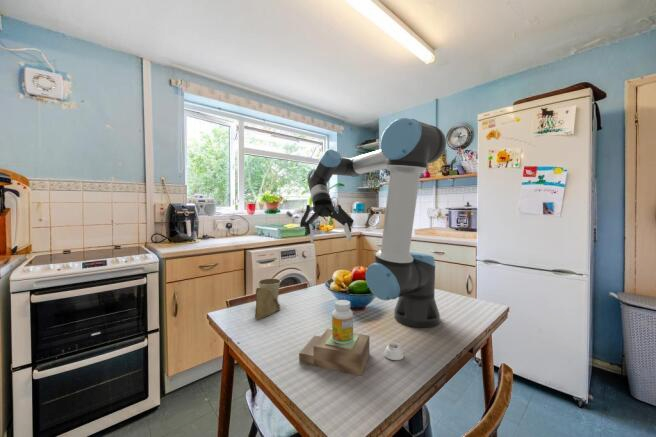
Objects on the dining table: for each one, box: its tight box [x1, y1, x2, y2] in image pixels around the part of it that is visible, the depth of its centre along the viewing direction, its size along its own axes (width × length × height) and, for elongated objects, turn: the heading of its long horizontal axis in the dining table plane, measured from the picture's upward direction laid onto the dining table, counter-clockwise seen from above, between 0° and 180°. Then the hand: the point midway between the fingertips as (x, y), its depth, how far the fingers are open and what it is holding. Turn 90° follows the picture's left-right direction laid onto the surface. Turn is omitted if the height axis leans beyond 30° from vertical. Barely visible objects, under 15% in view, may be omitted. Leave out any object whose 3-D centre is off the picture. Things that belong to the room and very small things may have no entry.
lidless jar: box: [383, 342, 405, 361], centre depth 72 cm, size 5×3×5 cm
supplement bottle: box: [331, 299, 354, 344], centre depth 70 cm, size 5×5×10 cm
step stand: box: [298, 328, 370, 377], centre depth 71 cm, size 16×10×5 cm, turn 70°
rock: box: [254, 287, 281, 321], centre depth 101 cm, size 11×9×10 cm
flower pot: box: [257, 278, 282, 301], centre depth 114 cm, size 9×9×9 cm
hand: (331, 239), depth 97 cm, fingers open, 13 cm apart
